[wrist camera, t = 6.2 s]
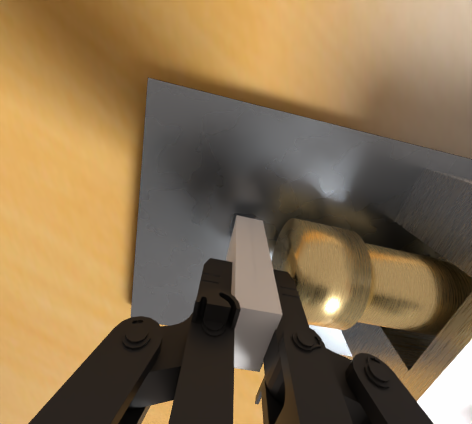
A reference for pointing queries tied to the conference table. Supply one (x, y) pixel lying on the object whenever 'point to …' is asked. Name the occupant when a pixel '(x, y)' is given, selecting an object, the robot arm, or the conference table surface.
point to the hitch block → (305, 208)
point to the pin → (367, 280)
